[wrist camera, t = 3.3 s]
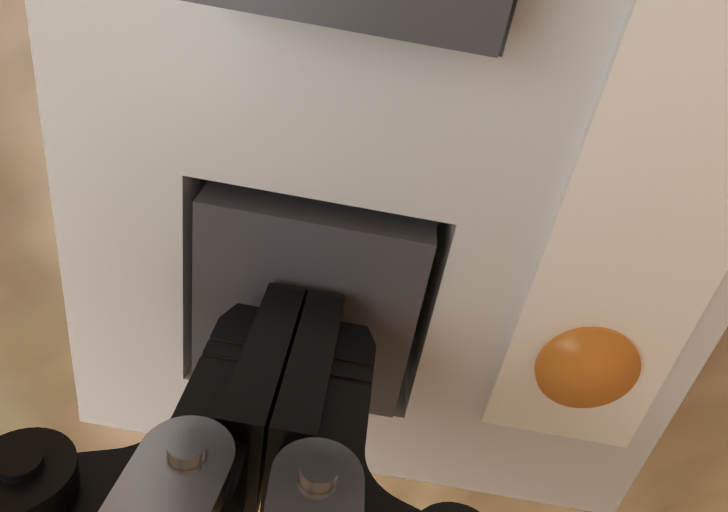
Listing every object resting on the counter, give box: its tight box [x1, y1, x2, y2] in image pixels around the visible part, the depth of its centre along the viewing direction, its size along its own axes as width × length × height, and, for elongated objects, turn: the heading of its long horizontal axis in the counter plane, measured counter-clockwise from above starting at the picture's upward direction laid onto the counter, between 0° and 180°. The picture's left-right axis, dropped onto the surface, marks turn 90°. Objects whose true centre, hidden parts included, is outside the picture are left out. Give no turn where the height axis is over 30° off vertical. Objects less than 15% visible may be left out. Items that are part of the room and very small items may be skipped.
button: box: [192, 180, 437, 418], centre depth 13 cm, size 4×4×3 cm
